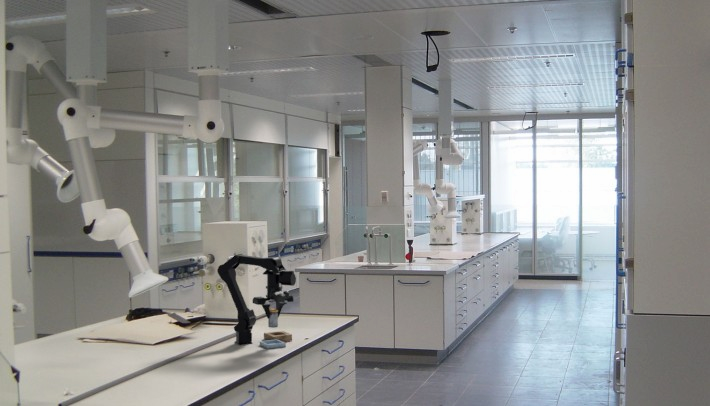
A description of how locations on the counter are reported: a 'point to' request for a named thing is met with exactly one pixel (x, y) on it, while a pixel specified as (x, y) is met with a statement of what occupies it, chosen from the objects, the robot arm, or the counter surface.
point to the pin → (273, 318)
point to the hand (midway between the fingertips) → (273, 317)
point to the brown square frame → (278, 336)
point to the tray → (272, 344)
